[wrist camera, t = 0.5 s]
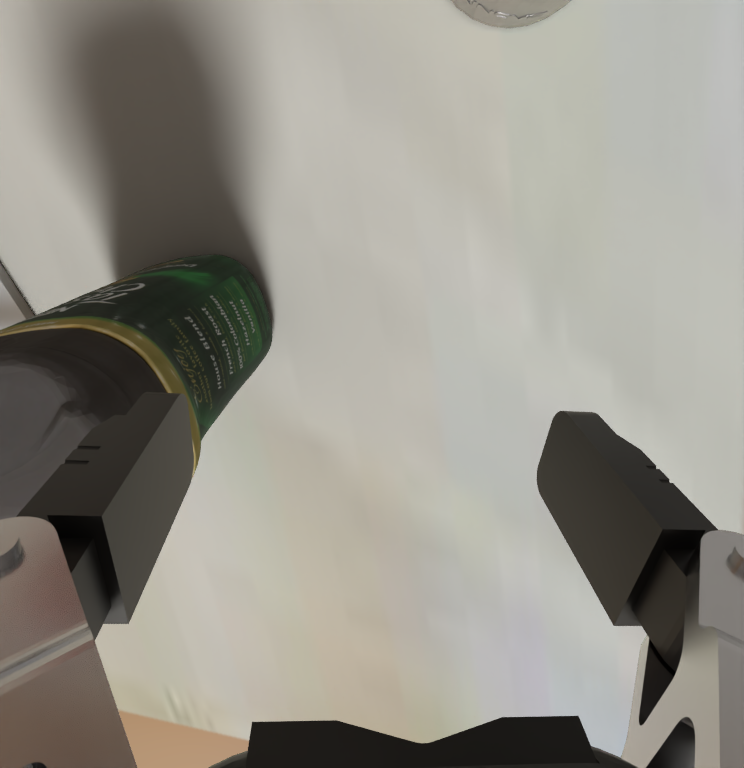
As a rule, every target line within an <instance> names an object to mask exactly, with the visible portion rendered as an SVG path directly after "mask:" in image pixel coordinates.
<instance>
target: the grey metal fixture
mask: <svg viewBox="0 0 744 768" xmlns="http://www.w3.org/2000/svg"><path fill="white" fill-rule="evenodd" d="M33 316H34V314H33V313H32V311H31V309H30V308H29V306H28V305H27V303H26V302H25V300H24V299H23V297H22V296H21V294H20V293H19V291H18V289H17V288H16V286H15V285H14V283H13V282H12V280H11V279H10V277H9V276H8V274H7V273H6V271H5V269H4V268H3V266H2V265H1V263H0V330H2V329H4V328H7V327H9V326H12V325H14V324H16V323H19V322H21V321H23V320H26V319H29V318H31V317H33Z"/></svg>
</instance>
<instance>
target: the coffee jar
mask: <svg viewBox="0 0 744 768" xmlns="http://www.w3.org/2000/svg"><path fill="white" fill-rule="evenodd" d="M271 342H272V326H271V321H270V317H269V313H268V310H267V306H266V303H265V301H264V298H263V295H262V293H261V291H260V289H259V286H258V284H257V283H256V281H255V279H254V277H253V276H252V274H251V273H250V272H249V271H248V270H247V269H246V268H245V267H244V266H243V265H242V264H240V263H239V262H237V261H236V260H234V259H232V258H229V257H226V256H222V255H203V256H194V257H187V258H181V259H176V260H172V261H168V262H165V263H161V264H157V265H154V266H151V267H148V268H146V269H144V270H141V271H139V272H136V273H134V274H131V275H129V276H127V277H125V278H123V279H121V280H119V281H116V282H114V283H111V284H109V285H107V286H104V287H102V288H99V289H97V290H95V291H92V292H90V293H87V294H84V295H82V296H80V297H78V298H75V299H73V300H71V301H69V302H66V303H64V304H61V305H59V306H56V307H54V308H52V309H50V310H47V311H45V312H43V313H40V314H38V315H36V316H33V317H31V318H29V319H26V320H23V321H21V322H19V323H16V324H14V325H12V326H9V327H7V328H4V329H2V330H0V520H2V519H7V518H12V517H16V516H17V515H18V514H19V512H20V511H21V510H22V509H23V508H24V507H25V505H26V504H27V503H28V502H29V501H30V500H31V499H32V497H33V496H34V495H35V494H36V493H37V492H38V490H39V489H40V488H41V487H42V486H43V485H44V484H45V482H46V481H47V480H48V479H49V478H50V477H51V476H52V474H53V473H54V472H55V471H56V470H57V469H58V467H59V466H60V465H61V464H64V463H65V459H66V458H67V457H68V456H69V455H70V454H71V452H72V451H73V450H74V449H77V446H78V444H79V443H80V442H81V441H82V440H83V439H84V437H85V436H86V435H87V434H88V433H89V432H90V431H91V429H92V428H94V427H96V426H97V425H99V424H101V423H102V422H104V421H106V420H107V419H109V418H111V417H112V416H114V415H126V414H127V413H128V412H129V410H130V409H131V408H132V406H133V405H134V404H135V403H136V401H137V400H138V399H139V398H140V396H141V395H142V394H143V393H145V392H157V393H180V394H184V395H185V396H186V398H187V402H188V409H189V417H190V426H191V434H192V443H193V452H194V469H193V475H194V473H195V470H196V467H197V465H198V461H199V456H200V449H201V440H202V438H203V437H204V435H205V434H206V432H207V431H208V429H209V428H210V427H211V425H212V424H213V423H214V421H215V420H216V419H217V418H218V416H219V415H220V413H221V412H222V411H223V409H224V408H225V407H226V405H227V404H228V403H229V401H230V400H231V399H232V397H233V396H234V395H235V394H236V392H237V391H238V390H239V389H240V387H241V386H242V385H243V384H244V383H245V381H246V380H247V379H248V378H249V377H250V376H251V375H252V373H253V372H254V371H255V370H256V368H257V367H258V366H259V364H260V363H261V362H262V360H263V359H264V357H265V356H266V354H267V353H268V351H269V349H270V346H271ZM193 475H192V477H193Z"/></svg>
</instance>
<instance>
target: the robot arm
mask: <svg viewBox="0 0 744 768" xmlns="http://www.w3.org/2000/svg"><path fill="white" fill-rule="evenodd" d="M451 1H452V2H453V3H454V5H455V6H456V7H457V8H458V9H460V10H461V11H463V12H464V13H465V14H467V15H468V16H469V17H471V18H472V19H474V20H476V21H479V22H481V23H484V24H486V25H489V26H494V27H503V28H514V27H521V26H528V25H530V24H533V23H535V22H538V21H540V20H543V19H545V18H547V17H549V16H550V15H552V14H553V13H555V12H556V11H558V10H559V9H561V8H562V7H564V6H565V5H566V4H568V3H569V2H570V1H571V0H451ZM193 469H194V452H193V443H192V434H191V426H190V417H189V409H188V402H187V398H186V396H185V395H184V394H180V393H157V392H145V393H143V394H142V395H141V396H140V398H139V399H138V400H137V401H136V403H135V404H134V405H133V406H132V408H131V409H130V410H129V412H128V413H127V414H126V415H114V416H112V417H111V418H109V419H107V420H106V421H104V422H102V423H101V424H99V425H97V426H96V427H94V428H92V429H91V431H90V432H89V433H88V434H87V435H86V436H85V437H84V439H83V440H82V441H81V442H80V443H79V444H78V446H77V449H74V450H73V451H72V452H71V454H70V455H69V456H68V457H67V458H66V459H65V463H64V464H61V465H60V466H59V467H58V469H57V470H56V471H55V472H54V473H53V474H52V476H51V477H50V478H49V479H48V480H47V481H46V482H45V484H44V485H43V486H42V487H41V488H40V489H39V490H38V492H37V493H36V494H35V495H34V496H33V497H32V499H31V500H30V501H29V502H28V503H27V504H26V505H25V507H24V508H23V509H22V510H21V511H20V512H19V514H18V515H17V516H16V517H12V518H7V519H2V520H0V768H137V765H136V762H135V759H134V756H133V754H132V750H131V747H130V745H129V742H128V739H127V736H126V733H125V730H124V727H123V724H122V721H121V718H120V715H119V712H118V709H117V706H116V703H115V700H114V697H113V694H112V691H111V688H110V685H109V683H108V680H107V677H106V674H105V671H104V668H103V665H102V662H101V659H100V656H99V653H98V650H97V647H96V644H95V639H96V637H97V635H98V633H99V631H100V629H101V627H102V625H103V624H129V621H130V619H131V617H132V615H133V612H134V610H135V608H136V606H137V603H138V601H139V599H140V597H141V594H142V592H143V590H144V587H145V585H146V583H147V581H148V578H149V576H150V574H151V572H152V569H153V567H154V565H155V563H156V560H157V558H158V556H159V553H160V551H161V549H162V547H163V544H164V542H165V540H166V538H167V535H168V533H169V531H170V529H171V526H172V524H173V522H174V519H175V517H176V515H177V513H178V510H179V508H180V506H181V504H182V501H183V499H184V497H185V495H186V492H187V490H188V488H189V485H190V483H191V479H192V475H193ZM537 485H538V489H539V492H540V495H541V497H542V499H543V500H544V502H545V504H546V506H547V507H548V509H549V511H550V513H551V515H552V516H553V518H554V520H555V522H556V523H557V525H558V527H559V529H560V531H561V532H562V534H563V536H564V538H565V539H566V541H567V543H568V545H569V547H570V548H571V550H572V552H573V554H574V556H575V557H576V559H577V561H578V563H579V564H580V566H581V568H582V570H583V572H584V573H585V575H586V577H587V579H588V580H589V582H590V584H591V586H592V588H593V589H594V591H595V593H596V595H597V597H598V598H599V600H600V602H601V604H602V605H603V607H604V609H605V611H606V613H607V614H608V616H609V618H610V620H611V621H612V623H613V625H614V626H642V627H643V628H644V630H645V632H646V633H647V635H646V637H645V639H644V641H643V642H642V644H641V648H640V653H639V660H638V667H637V674H636V680H635V687H634V694H633V701H632V707H631V714H630V721H629V727H628V734H627V739H626V743H625V747H624V750H623V753H622V756H621V758H619V757H618V756H615V755H613V754H610V753H608V752H605V751H603V750H601V749H598V748H595V747H592V746H590V743H589V741H588V738H587V736H586V733H585V731H584V728H583V726H582V724H581V721H580V719H579V716H551V717H502V718H499V719H496V720H493V721H491V722H488V723H485V724H482V725H479V726H476V727H474V728H471V729H468V730H465V731H462V732H459V733H457V734H454V735H451V736H448V737H445V738H443V739H440V740H437V741H434V742H430V743H415V742H412V741H408V740H404V739H401V738H397V737H394V736H390V735H386V734H383V733H379V732H376V731H372V730H369V729H365V728H361V727H358V726H354V725H351V724H347V723H343V722H340V721H285V722H252V727H251V734H250V740H249V747H248V751H246V752H243V753H240V754H237V755H234V756H232V757H229V758H227V759H225V760H223V761H221V762H219V763H217V764H214V765H212V766H211V767H209V768H744V535H743V534H739V533H735V532H731V531H724V530H718V529H717V528H716V527H715V526H714V525H713V524H712V523H711V522H710V521H709V520H708V519H707V518H706V517H705V516H704V515H703V514H702V513H701V512H700V511H699V510H698V509H697V508H696V507H695V506H694V505H693V503H692V502H691V501H690V500H689V499H688V498H687V497H686V496H685V495H684V494H683V493H682V492H681V491H680V490H679V489H678V488H677V487H676V486H675V485H674V484H673V483H669V479H668V478H667V477H666V476H665V475H664V473H663V472H662V471H661V470H660V469H656V465H655V464H654V463H653V462H652V461H651V460H650V459H649V458H648V457H647V456H646V455H645V454H644V453H643V452H642V451H641V450H640V449H639V448H637V447H636V446H634V445H632V444H631V443H629V442H628V441H626V440H625V439H623V438H621V437H620V436H618V435H617V434H616V433H615V432H614V431H613V430H612V429H611V428H610V427H609V426H608V425H607V424H606V423H605V422H604V420H603V419H602V418H601V417H600V416H599V415H598V414H596V413H593V412H573V411H560V412H558V413H557V414H556V415H555V416H554V418H553V420H552V423H551V427H550V430H549V433H548V436H547V439H546V443H545V446H544V449H543V452H542V456H541V459H540V462H539V465H538V470H537Z"/></svg>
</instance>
